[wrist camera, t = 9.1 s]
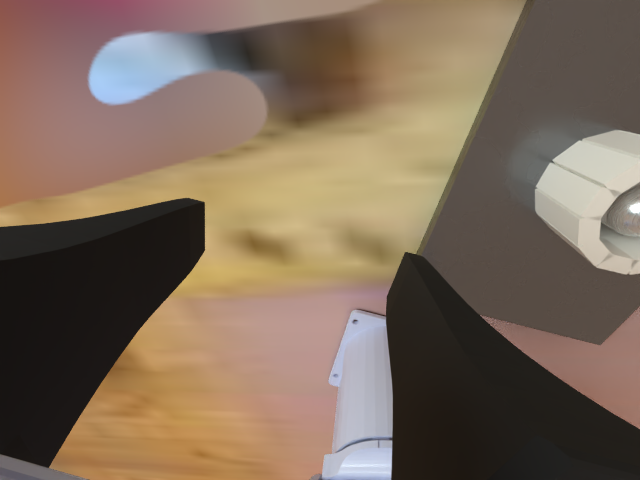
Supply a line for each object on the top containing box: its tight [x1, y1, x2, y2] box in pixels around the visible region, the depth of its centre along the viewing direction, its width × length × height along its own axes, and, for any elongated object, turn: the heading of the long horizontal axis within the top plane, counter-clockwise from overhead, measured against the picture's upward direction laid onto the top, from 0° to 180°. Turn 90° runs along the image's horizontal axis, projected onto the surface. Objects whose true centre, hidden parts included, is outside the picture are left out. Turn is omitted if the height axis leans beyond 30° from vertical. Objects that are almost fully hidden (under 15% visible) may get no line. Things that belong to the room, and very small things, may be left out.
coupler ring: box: [535, 130, 640, 275], centre depth 14 cm, size 6×6×4 cm
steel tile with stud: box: [416, 0, 640, 345], centre depth 14 cm, size 20×14×5 cm
